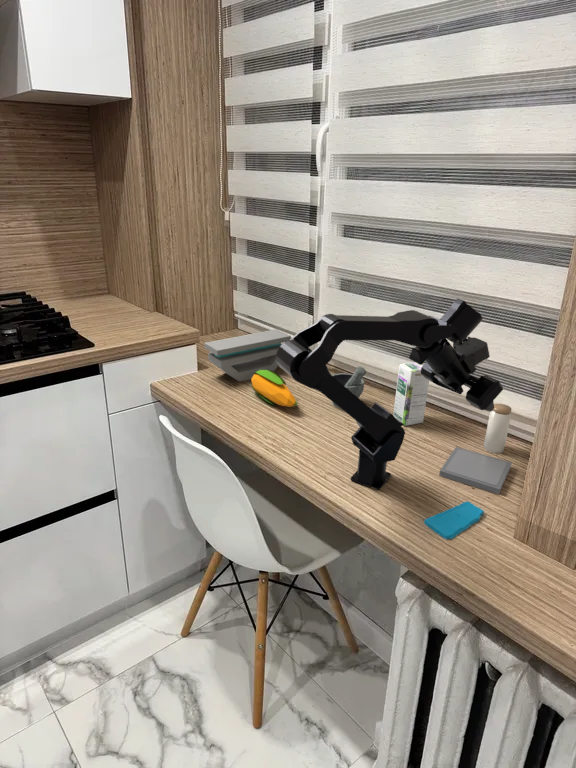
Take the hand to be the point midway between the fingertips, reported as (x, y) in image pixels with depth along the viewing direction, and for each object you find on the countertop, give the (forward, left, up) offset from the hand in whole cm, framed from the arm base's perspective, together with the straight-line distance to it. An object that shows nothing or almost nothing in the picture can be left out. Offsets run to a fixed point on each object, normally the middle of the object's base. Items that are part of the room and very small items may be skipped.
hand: (476, 400), depth 114 cm
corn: (-1, +51, -14) cm, 53 cm away
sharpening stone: (+11, +68, -14) cm, 70 cm away
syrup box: (+9, +17, -14) cm, 24 cm away
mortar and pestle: (+8, +34, -14) cm, 38 cm away
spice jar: (+7, -4, -13) cm, 16 cm away
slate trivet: (-6, -3, -13) cm, 15 cm away
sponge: (-25, -5, -14) cm, 29 cm away
